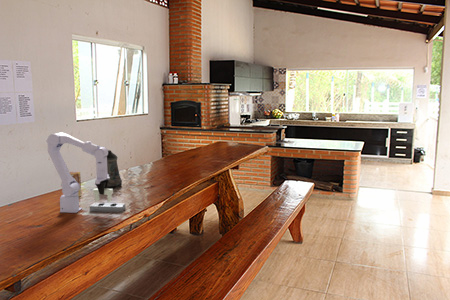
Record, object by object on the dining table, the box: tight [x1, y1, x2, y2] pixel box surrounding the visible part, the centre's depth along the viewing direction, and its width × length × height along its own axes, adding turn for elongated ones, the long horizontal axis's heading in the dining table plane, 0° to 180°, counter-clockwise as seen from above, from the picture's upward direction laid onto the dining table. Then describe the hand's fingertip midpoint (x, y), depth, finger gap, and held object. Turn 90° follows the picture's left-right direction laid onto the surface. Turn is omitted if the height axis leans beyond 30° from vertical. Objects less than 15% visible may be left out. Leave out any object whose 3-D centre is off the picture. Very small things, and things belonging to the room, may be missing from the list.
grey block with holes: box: [89, 202, 126, 213], centre depth 225 cm, size 18×7×3 cm, turn 86°
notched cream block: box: [92, 187, 114, 203], centre depth 220 cm, size 10×3×6 cm, turn 86°
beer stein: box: [107, 149, 123, 190], centre depth 271 cm, size 16×19×25 cm
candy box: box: [69, 171, 82, 198], centre depth 250 cm, size 9×4×15 cm, turn 96°
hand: (102, 193), depth 220 cm, fingers closed on notched cream block, 3 cm apart
